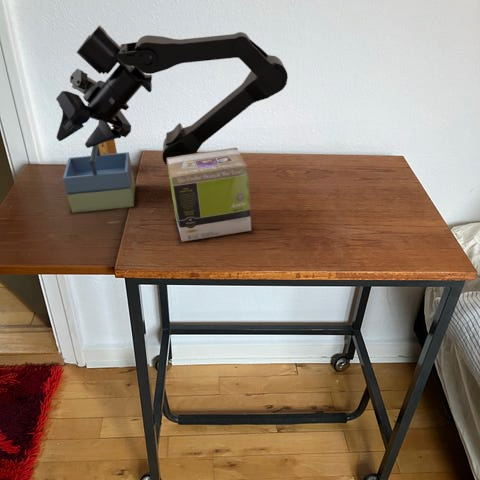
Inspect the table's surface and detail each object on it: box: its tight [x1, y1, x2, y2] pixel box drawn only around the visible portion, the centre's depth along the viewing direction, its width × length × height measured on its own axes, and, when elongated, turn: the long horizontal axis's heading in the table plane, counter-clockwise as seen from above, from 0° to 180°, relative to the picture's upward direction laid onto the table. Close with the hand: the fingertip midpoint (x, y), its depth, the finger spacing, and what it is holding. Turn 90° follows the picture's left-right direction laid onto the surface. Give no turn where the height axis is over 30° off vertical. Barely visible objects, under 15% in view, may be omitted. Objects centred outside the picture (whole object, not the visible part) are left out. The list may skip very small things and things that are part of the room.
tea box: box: [166, 147, 252, 243], centre depth 110 cm, size 15×10×15 cm, turn 102°
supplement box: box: [99, 139, 118, 155], centre depth 135 cm, size 3×3×10 cm
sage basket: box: [67, 171, 136, 214], centre depth 125 cm, size 14×11×4 cm
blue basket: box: [62, 144, 133, 196], centre depth 121 cm, size 14×11×7 cm
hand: (72, 142), depth 116 cm, fingers open, 9 cm apart
